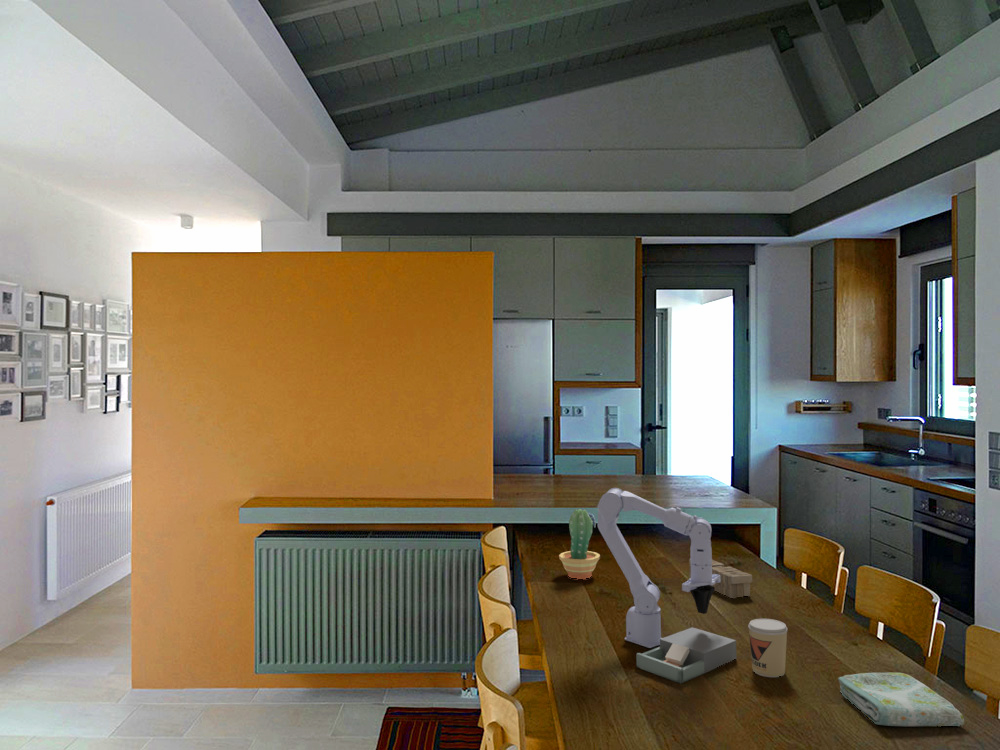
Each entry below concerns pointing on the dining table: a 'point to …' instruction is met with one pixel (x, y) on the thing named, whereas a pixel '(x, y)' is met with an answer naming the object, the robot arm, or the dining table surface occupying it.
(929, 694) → the towel
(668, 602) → the dining table surface
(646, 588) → the robot arm
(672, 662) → the terracotta tile
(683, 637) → the grey drawer housing
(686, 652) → the cream tile
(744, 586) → the block tower
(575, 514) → the potted cactus
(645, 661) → the grey-green drawer
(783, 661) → the coffee cup
